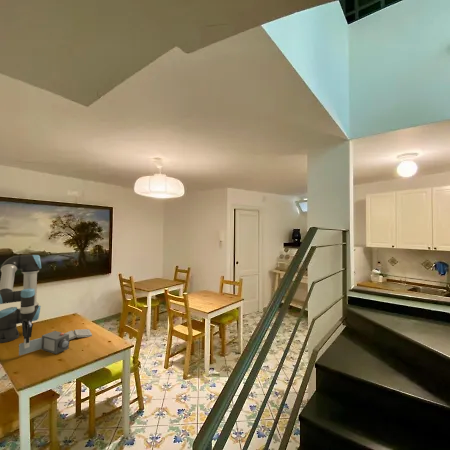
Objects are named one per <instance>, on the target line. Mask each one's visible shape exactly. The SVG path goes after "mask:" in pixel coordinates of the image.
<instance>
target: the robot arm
mask: <svg viewBox="0 0 450 450" xmlns="http://www.w3.org/2000/svg"><path fill="white" fill-rule="evenodd" d="M41 269H42V262H41V256H40V255H39V254H26V255H13V256H11V257H9V258H8V259H5V261H4V262H3V263H2V264H1V266H0V272H1V274H0V275H1V276H0V305H4V304H10V303H17V302H20V308H18V307H17V306H11V307H6V308H4V309H1V310H0V344H1V343H2V344H3V343H8V341H9V342H12V341H15V340H17V339H19V337H20V332H19V331H18V328H17V327H18V326H17V325H19V324H21V328H22V329H21V331H22V337H23V343H24V348H28V347H30V341H31V340H30V339H31V338H32V334H33V333H32V332H33V327H34V324H33V323H32V322H35V321H38V320H39V318H40V312H41V307H42V306H41V305H39V303H38V302H37V286H38V284H37V283H38V281H37V280H38V273H39V272H40V270H41ZM17 271H21V274H22V275H23V286H22V287H23V288H22V290H13V289H14V282H15V276H16V275H15V273H16V272H17Z"/></svg>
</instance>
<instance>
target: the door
mask: <svg viewBox="0 0 450 450" xmlns="http://www.w3.org/2000/svg"><path fill="white" fill-rule="evenodd" d="M42 348H43V337H42V336H41V337H39V338H34V339H32V340H30V347H28V348H24V342H21V343H18V356H19V357H20V356H23V355H26V354H29V353H32V352H36V351H38V350H42Z"/></svg>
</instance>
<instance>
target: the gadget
mask: <svg viewBox="0 0 450 450" xmlns="http://www.w3.org/2000/svg"><path fill="white" fill-rule="evenodd" d="M64 333H65V334H69V341H70V340H74V339H75V338H90V337H93V334H92V332H91V330H90V328H86V329H82V328H81V329H73V330H69V331H67V332H64Z"/></svg>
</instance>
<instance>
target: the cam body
mask: <svg viewBox="0 0 450 450" xmlns="http://www.w3.org/2000/svg"><path fill="white" fill-rule="evenodd" d="M65 333H66V332H61V331H57V330H54V331H51V332H47V333H45V334H42V335H41V337H43V348H42V349H41V350H42V351H45V352H48V353H51V354H54V355H57V354H60V353H62V352H64V351H66V350H69V348H70V340H69V334H65Z"/></svg>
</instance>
